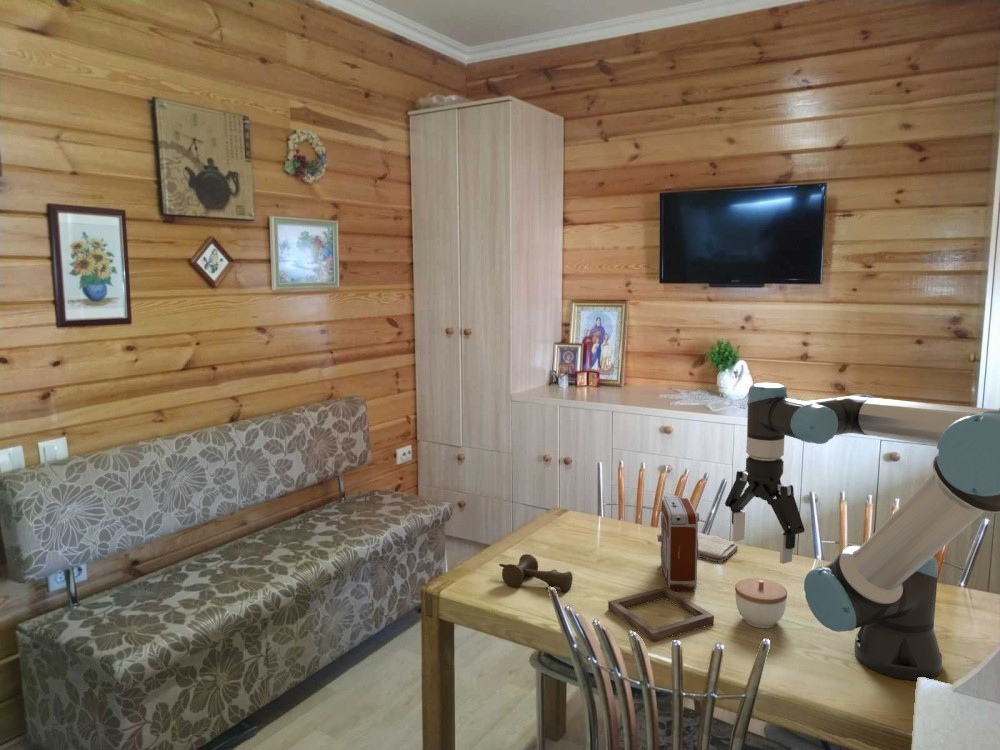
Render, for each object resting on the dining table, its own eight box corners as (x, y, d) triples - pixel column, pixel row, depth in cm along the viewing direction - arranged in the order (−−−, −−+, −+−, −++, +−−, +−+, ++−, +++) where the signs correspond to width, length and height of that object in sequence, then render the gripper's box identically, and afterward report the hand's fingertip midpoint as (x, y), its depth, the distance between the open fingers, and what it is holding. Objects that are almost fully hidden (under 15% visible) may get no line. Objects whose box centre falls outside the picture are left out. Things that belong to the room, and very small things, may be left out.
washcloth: (724, 565, 189) (724, 554, 189) (660, 550, 200) (660, 540, 200) (739, 550, 199) (739, 540, 198) (678, 537, 210) (678, 527, 209)
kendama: (560, 601, 172) (489, 582, 182) (577, 587, 180) (508, 569, 190) (561, 577, 171) (489, 559, 181) (578, 564, 179) (508, 547, 189)
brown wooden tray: (713, 624, 158) (713, 615, 158) (652, 642, 151) (652, 633, 151) (665, 594, 173) (666, 586, 172) (608, 609, 166) (608, 601, 165)
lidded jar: (734, 630, 155) (735, 589, 154) (733, 607, 165) (735, 568, 164) (788, 636, 152) (789, 594, 151) (783, 612, 162) (785, 573, 161)
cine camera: (689, 561, 191) (690, 488, 188) (702, 594, 172) (703, 513, 169) (654, 560, 192) (654, 488, 189) (663, 593, 173) (663, 513, 170)
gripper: (826, 468, 144) (821, 568, 147) (735, 441, 166) (733, 528, 169) (799, 473, 140) (794, 576, 144) (710, 445, 163) (708, 534, 166)
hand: (761, 550), depth 156 cm, fingers open, 13 cm apart
